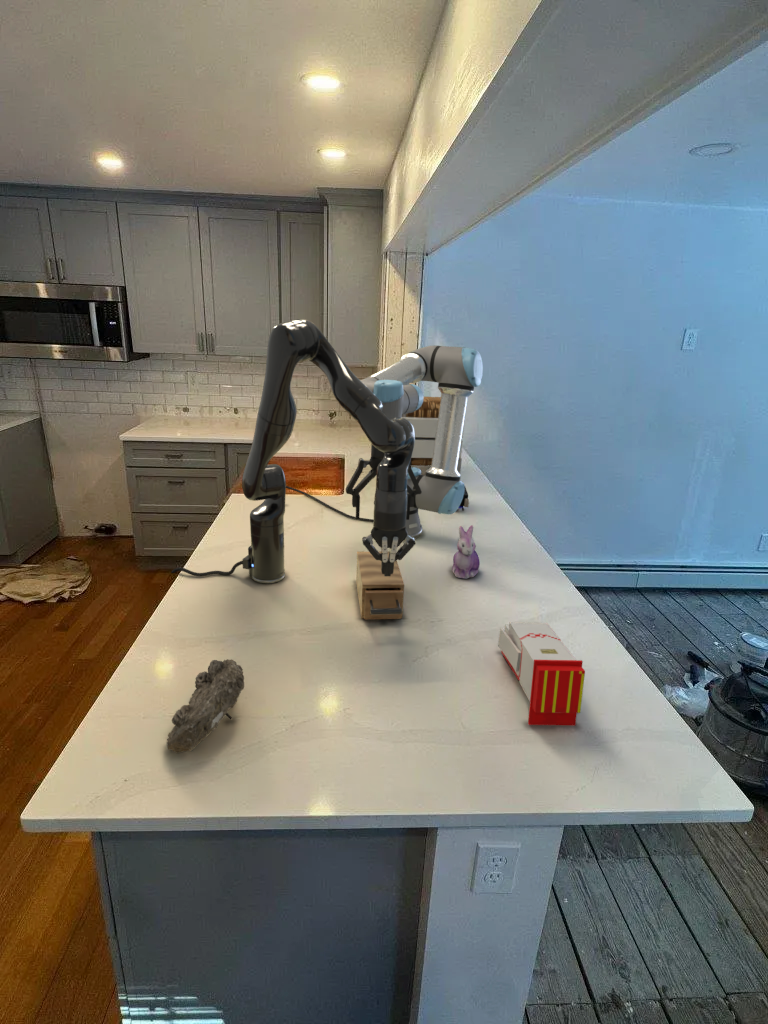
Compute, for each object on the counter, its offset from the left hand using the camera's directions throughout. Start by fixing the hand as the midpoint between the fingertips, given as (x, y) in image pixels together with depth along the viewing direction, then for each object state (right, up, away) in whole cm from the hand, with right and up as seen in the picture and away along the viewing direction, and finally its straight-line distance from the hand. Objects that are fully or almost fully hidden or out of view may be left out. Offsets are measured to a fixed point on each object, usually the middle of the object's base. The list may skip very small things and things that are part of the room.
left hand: (387, 574), depth 135 cm
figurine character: (+29, +17, +95) cm, 101 cm away
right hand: (-1, +13, +19) cm, 23 cm away
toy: (+31, -22, -13) cm, 40 cm away
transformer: (+17, +34, +140) cm, 145 cm away
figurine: (+24, -4, +37) cm, 44 cm away
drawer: (-2, -10, +14) cm, 17 cm away
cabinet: (-2, -9, +20) cm, 22 cm away
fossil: (-33, -24, -27) cm, 49 cm away
